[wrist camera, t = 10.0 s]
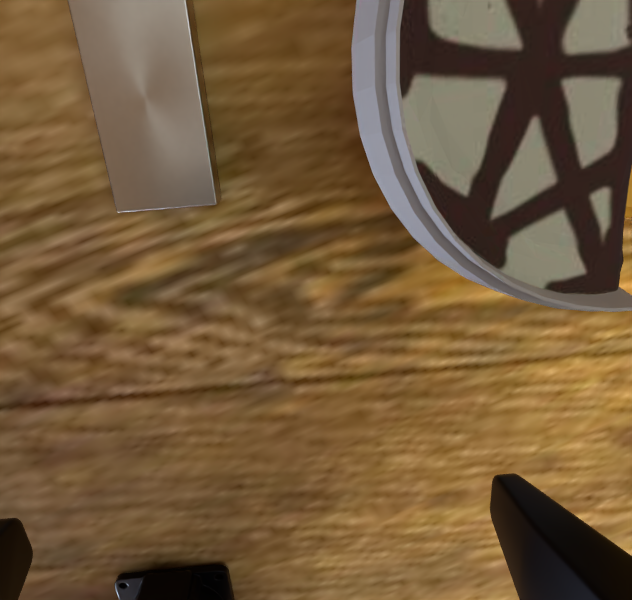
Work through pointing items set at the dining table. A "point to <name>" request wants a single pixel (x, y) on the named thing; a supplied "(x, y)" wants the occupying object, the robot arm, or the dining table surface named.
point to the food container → (504, 137)
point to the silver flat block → (148, 101)
